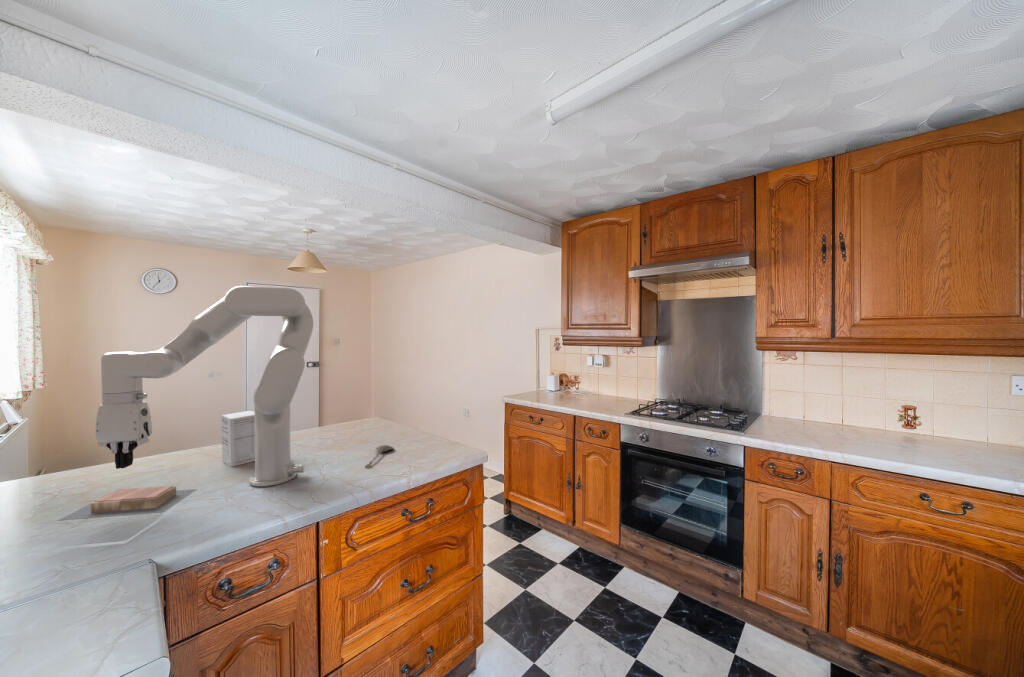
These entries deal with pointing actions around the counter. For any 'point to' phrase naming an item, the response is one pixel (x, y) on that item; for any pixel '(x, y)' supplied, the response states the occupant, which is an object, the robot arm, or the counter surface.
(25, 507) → the counter surface
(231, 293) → the robot arm
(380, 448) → the soupspoon
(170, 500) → the rubber mat
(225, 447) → the supplement box
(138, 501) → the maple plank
